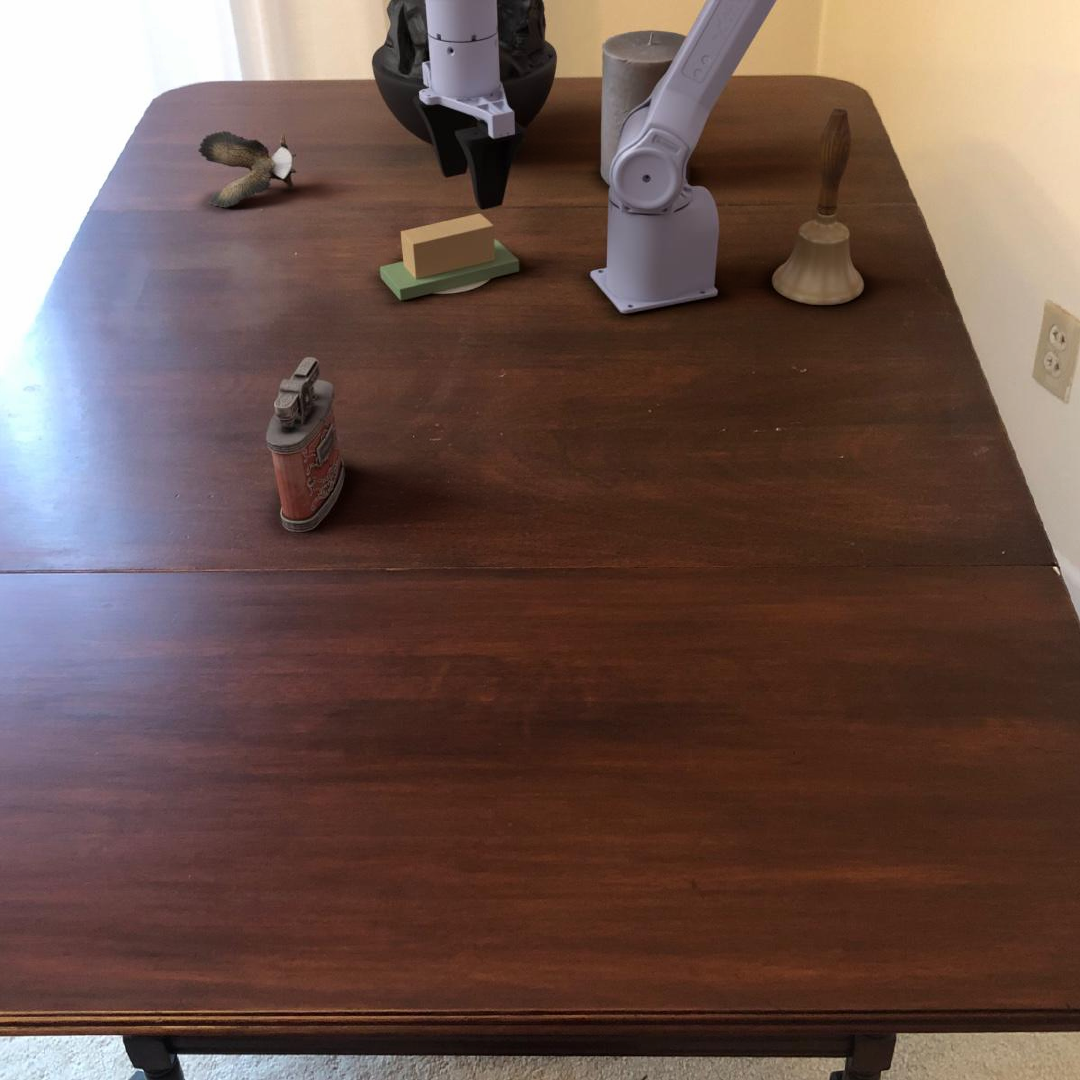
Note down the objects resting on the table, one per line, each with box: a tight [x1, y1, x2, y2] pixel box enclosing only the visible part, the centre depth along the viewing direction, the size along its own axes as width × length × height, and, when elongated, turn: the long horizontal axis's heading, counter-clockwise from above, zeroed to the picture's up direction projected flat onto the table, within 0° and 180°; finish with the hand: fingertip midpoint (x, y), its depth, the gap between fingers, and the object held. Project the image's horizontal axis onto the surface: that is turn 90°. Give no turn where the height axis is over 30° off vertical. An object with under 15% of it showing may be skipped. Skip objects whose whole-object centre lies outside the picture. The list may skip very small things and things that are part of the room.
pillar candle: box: [600, 29, 692, 187], centre depth 126 cm, size 10×10×15 cm
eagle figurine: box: [198, 130, 297, 208], centre depth 127 cm, size 8×7×9 cm
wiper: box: [379, 213, 520, 302], centre depth 113 cm, size 5×12×5 cm, turn 117°
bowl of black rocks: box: [371, 0, 558, 147], centre depth 132 cm, size 20×20×19 cm
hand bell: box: [771, 108, 865, 306], centre depth 107 cm, size 8×8×16 cm
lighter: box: [265, 356, 346, 533], centre depth 85 cm, size 8×3×10 cm, turn 168°
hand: (471, 189), depth 108 cm, fingers open, 7 cm apart
